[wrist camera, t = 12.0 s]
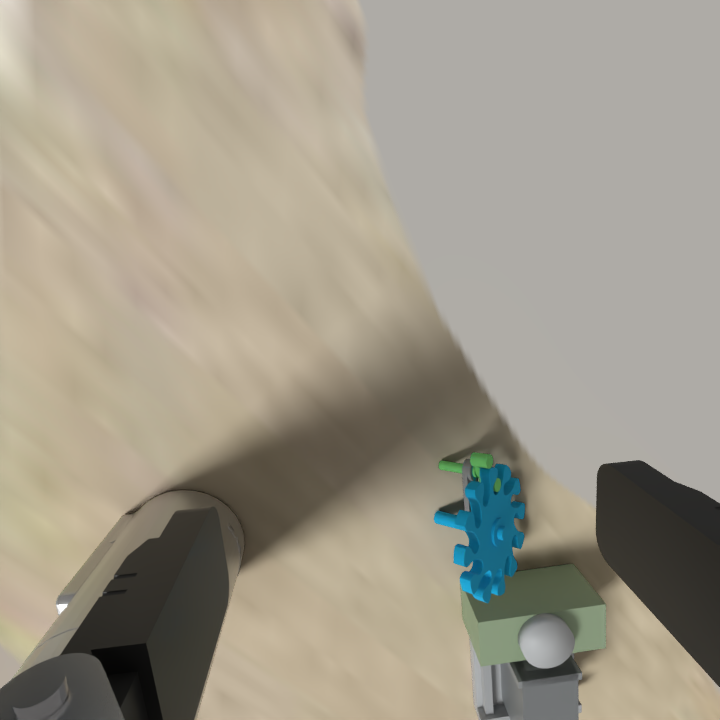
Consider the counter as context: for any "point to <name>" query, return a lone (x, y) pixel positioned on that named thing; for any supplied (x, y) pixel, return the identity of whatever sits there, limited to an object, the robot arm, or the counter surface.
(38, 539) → the counter surface
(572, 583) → the drawer with ball knob
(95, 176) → the counter surface
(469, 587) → the gear
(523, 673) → the grey lidded bin
